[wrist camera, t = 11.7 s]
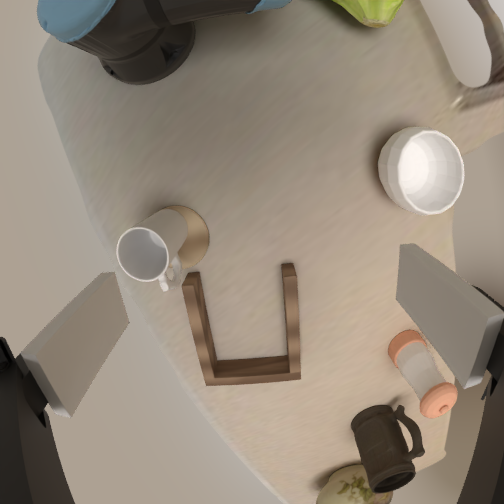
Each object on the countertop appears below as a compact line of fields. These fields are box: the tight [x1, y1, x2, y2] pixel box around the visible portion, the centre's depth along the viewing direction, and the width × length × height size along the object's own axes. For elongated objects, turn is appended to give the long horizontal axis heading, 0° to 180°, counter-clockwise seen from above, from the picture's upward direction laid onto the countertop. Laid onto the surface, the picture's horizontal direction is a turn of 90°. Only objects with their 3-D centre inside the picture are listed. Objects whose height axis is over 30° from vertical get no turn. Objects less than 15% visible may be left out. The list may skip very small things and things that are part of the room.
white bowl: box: [378, 127, 464, 215], centre depth 38 cm, size 12×12×10 cm
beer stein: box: [351, 405, 425, 494], centre depth 51 cm, size 15×11×20 cm
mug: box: [116, 209, 188, 292], centre depth 40 cm, size 10×7×12 cm, turn 23°
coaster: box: [162, 206, 209, 269], centre depth 46 cm, size 10×10×1 cm
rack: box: [182, 263, 301, 386], centre depth 49 cm, size 20×17×5 cm
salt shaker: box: [388, 330, 458, 418], centre depth 44 cm, size 7×7×19 cm
